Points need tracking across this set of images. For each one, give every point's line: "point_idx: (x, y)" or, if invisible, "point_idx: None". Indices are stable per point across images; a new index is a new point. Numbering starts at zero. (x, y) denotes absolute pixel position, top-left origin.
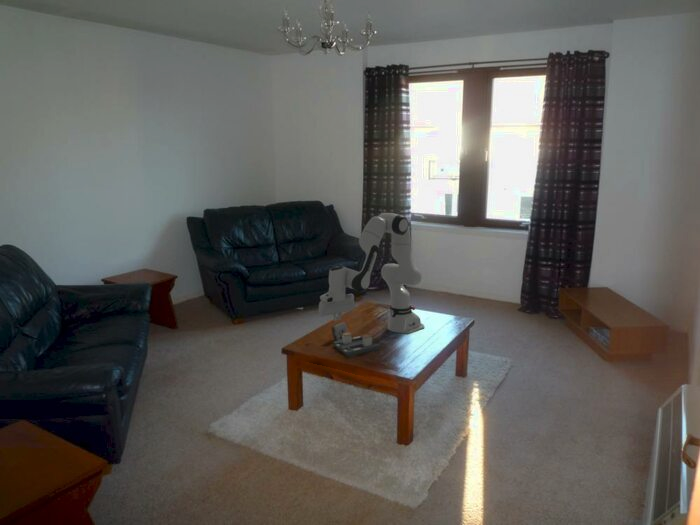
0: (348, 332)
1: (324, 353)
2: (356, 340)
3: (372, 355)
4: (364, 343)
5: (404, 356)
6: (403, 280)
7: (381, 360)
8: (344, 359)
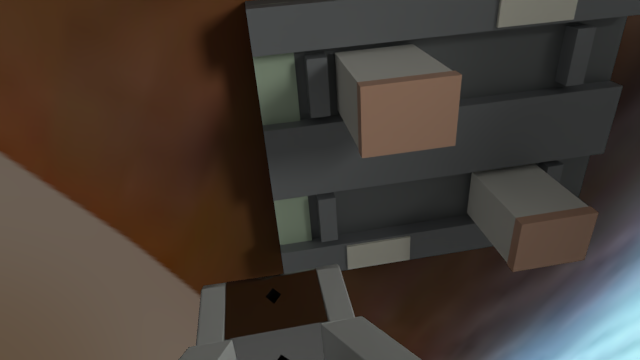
0: (451, 82)
1: (98, 139)
2: (503, 29)
3: (445, 279)
4: (482, 215)
5: (586, 331)
6: None
7: (447, 344)
8: None
